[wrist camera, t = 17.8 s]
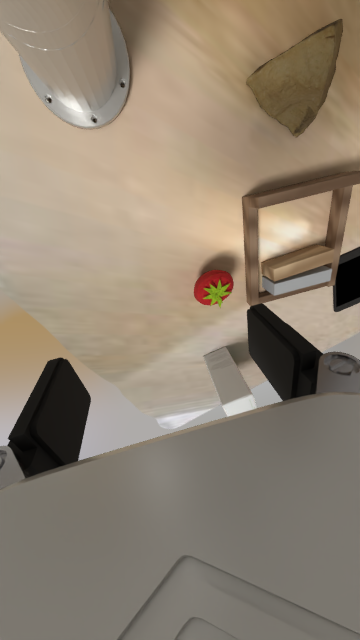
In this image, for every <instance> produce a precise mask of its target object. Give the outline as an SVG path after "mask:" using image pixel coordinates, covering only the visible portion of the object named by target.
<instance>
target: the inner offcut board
mask: <svg viewBox="0 0 360 640" xmlns="http://www.w3.org/2000/svg"><path fill="white" fill-rule="evenodd" d="M333 257H334V249H331V248H328V247H324V246H321V245H317V244H315V245H312V246H309V247H306V248H303V249H300V250H297V251H294V252H291V253H288V254H285V255H282V256H279V257H276V258H273V259H270V260H267V261H264V262H261V268H262V274H263V275H265V276H266V277H268V278H269V279H271V280H273V281H274V282H275V281H278V280H281V279H284V278H287V277H290V276H293V275H296V274H299V273H302V272H305V271H308V270H311V269H314V268H317V267H319V266H322V265H325V264H328V263H331V262H333Z"/></svg>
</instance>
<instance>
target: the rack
mask: <svg viewBox="0 0 360 640" xmlns="http://www.w3.org/2000/svg"><path fill="white" fill-rule="evenodd" d="M356 184H360V171H352V172H343V173H339V174H335V175H331V176H327V177H322V178H318V179H314V180H310V181H306V182H302V183H298V184H294V185H290V186H286V187H282V188H277V189H273V190H269V191H265V192H261V193H257V194H253V195H249V196H245V197H242V206H243V228H244V250H245V272H246V294H247V303H248V304H249V305H250V306H253V305H257V304H260V303H265V302H269V301H272V300H276V299H280V298H284V297H287V296H291V295H295V294H298V293H302V292H306V291H309V290H313V289H317V288H321V287H324V286H328V287H329V286H333V285H335V280H336V274H337V269H338V263H339V258H340V252H341V247H342V241H343V236H344V230H345V225H346V220H347V214H348V209H349V203H350V198H351V192H352V187H353V185H356ZM331 190H333V195H332V202H331V209H330V216H329V223H328V230H327V237H326V244H325V247H328V248H331V249H334V257H333V262H331V263H328V264H325V265H323V266H326V267H328V268H331V269H332V273H331V279H330V281H327V282H324V283H320V284H316V285H312V286H309V287H305V288H301V289H298V290H294V291H290V292H286V293H283V294H279V295H275V296H274V295H272V294H271V293H270V292H268V291H265V292H261V293H258V225H257V208H263V207H267V206H271V205H275V204H279V203H283V202H287V201H291V200H295V199H299V198H303V197H307V196H311V195H315V194H319V193H323V192H327V191H331Z"/></svg>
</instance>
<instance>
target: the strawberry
mask: <svg viewBox="0 0 360 640" xmlns="http://www.w3.org/2000/svg"><path fill="white" fill-rule="evenodd" d="M233 285H234V282H233V279H232V277H231V275H230V274H229V273H228V272H226V271H222V270H211V271H208V272H206V273H204V274H203V275H202V276H201V277H199V279H198V280H197V281H196V283H195V287H194V296H195V298H196V300H197V301H199V302H200V303H202V304H204V305H210V306H211V305H214V304H217V303H218V304H219V306H220V307H221V303H223V302H222V301H223V300H224V299H225V298H227V297H228V296H229V294H230V293H232V292H231V291H232V289H233Z"/></svg>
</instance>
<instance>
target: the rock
mask: <svg viewBox="0 0 360 640" xmlns="http://www.w3.org/2000/svg"><path fill="white" fill-rule="evenodd" d="M342 32H343V23H342V19H339V20H337V21H335V22H333V23H331V24H329V25H327V26H325V27H323V28H321V29H319V30H317V31H316V32H314V33H313V34H311V35H309V36H308V37H306V38H305V39H304V40H302V41H301V42H300V43H298V44H297V45H295V46H293V47H291V48H290V49H289V50H287V51H286V52H284V53H282V54H280V55H279V56H277V57H276V58H274V59H271V60H270V61H268V62H267V63H265V64H264V65H262V66H261V67H259V68H258V69H257V70H256V71H255V72H254V73H253V74H252V75H251V76H250V77H249V78H247V82H246V83H247V85H248V86H250V87H251V88H252V90H253V92H254V94H255V96H256V99H257V101H258V102H259V104H260V107H261V108H263V109H264V110H265V111H266V112H267V114H268V115H269V116H272V117H273V118H274V119H277V120H278V121H279V122H280V123H281V124H282V125H285V126H287V127H288V128H289V130H290V131H291V132H292V134H293V136H295V137H298V136H299V135H300V134H302V133H303V132H304V131H305V129H306V128H307V127H308V126H309V125H310V124H311V123H312V122H313V120H314V119H315V117H316V115H317V113H318V111H319V109H320V107H321V106H322V105H323V103H324V102H325V99H326V96H327V92H328V89H329V87H330V85H331V81H332V79H333V76H334V73H335V70H336V60H337V56H338V52H339V47H340V41H341V36H342Z"/></svg>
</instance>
